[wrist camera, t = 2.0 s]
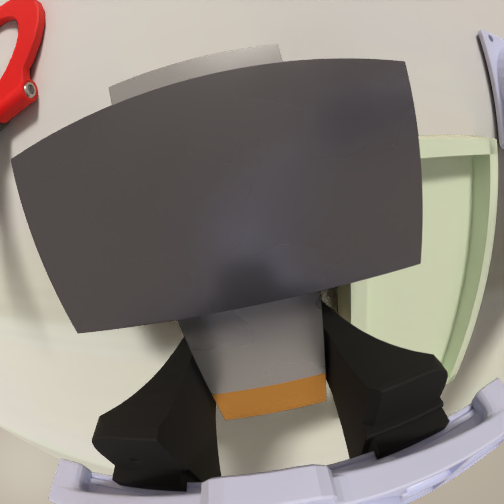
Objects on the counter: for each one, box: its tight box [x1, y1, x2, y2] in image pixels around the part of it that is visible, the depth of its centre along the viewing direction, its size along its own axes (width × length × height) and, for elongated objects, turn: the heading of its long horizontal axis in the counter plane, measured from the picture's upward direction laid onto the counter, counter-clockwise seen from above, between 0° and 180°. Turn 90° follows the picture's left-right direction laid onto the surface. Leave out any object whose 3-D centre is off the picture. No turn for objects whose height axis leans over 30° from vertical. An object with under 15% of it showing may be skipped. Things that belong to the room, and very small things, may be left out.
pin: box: [109, 44, 326, 420], centre depth 10 cm, size 4×13×4 cm, turn 12°
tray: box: [337, 135, 498, 384], centre depth 13 cm, size 10×18×2 cm, turn 11°
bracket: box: [11, 59, 423, 333], centre depth 8 cm, size 9×5×6 cm, turn 101°
